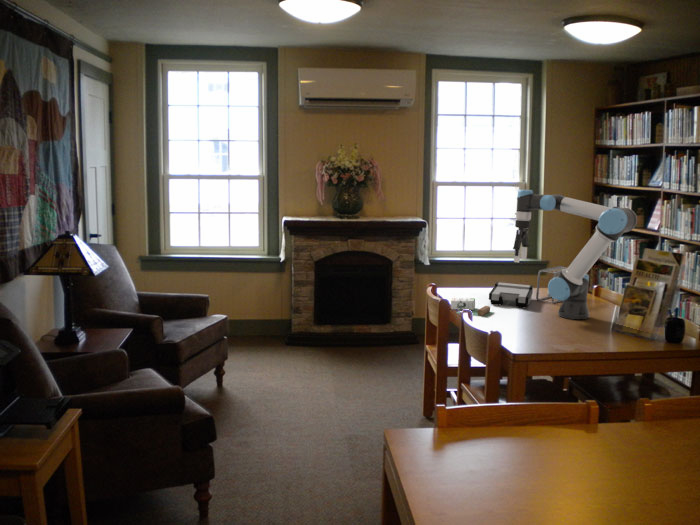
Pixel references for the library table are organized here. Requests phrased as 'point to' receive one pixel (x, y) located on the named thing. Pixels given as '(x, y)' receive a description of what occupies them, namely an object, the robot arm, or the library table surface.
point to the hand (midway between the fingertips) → (520, 260)
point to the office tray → (511, 294)
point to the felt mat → (475, 313)
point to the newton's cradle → (549, 281)
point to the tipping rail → (483, 310)
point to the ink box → (463, 303)
